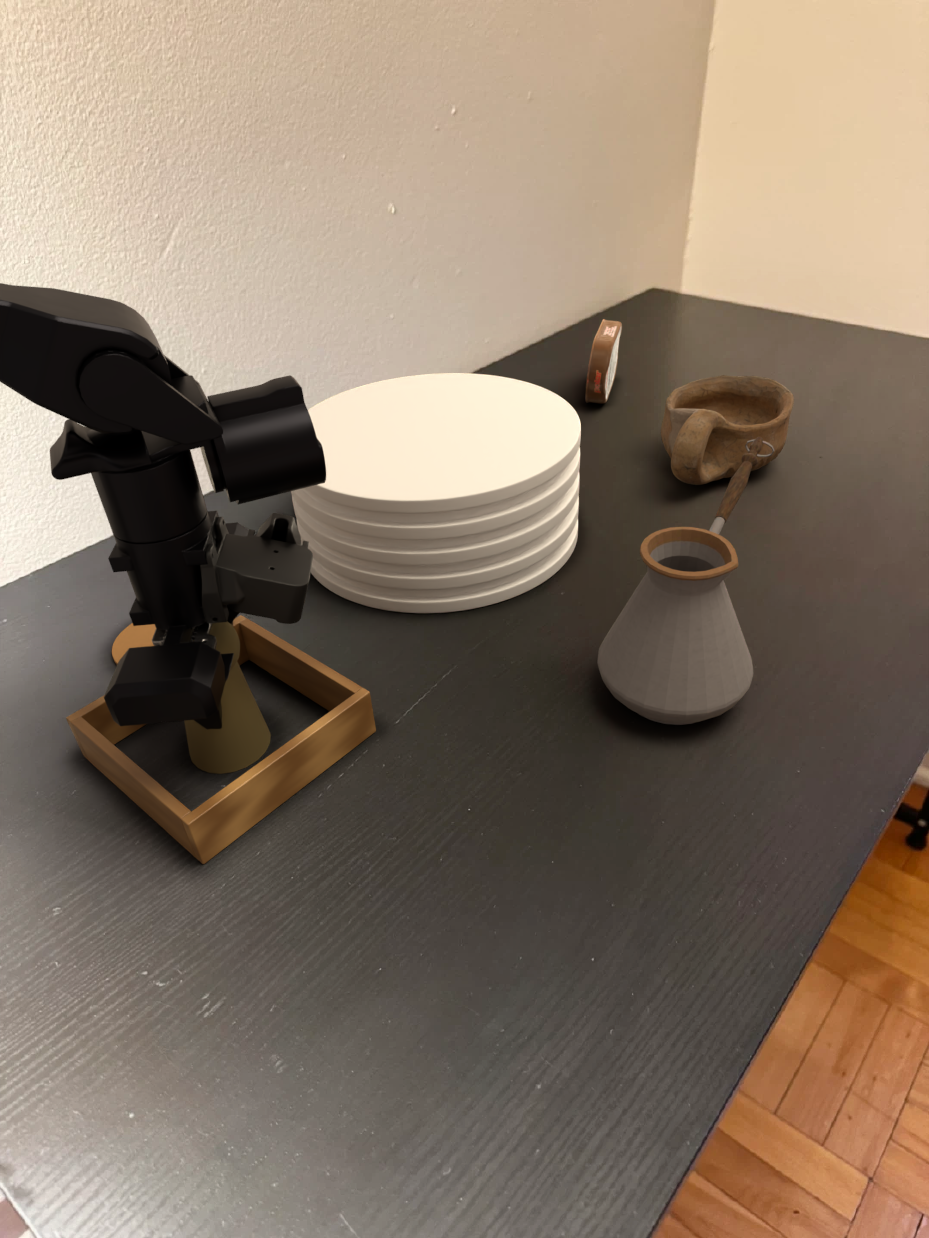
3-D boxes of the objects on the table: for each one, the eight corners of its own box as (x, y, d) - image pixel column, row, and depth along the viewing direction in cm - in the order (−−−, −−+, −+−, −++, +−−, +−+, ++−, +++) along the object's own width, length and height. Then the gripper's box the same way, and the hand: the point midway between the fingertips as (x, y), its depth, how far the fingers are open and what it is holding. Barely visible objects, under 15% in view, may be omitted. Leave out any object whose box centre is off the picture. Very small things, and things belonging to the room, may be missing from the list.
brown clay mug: (791, 507, 84) (777, 413, 79) (652, 522, 90) (631, 436, 85) (804, 431, 96) (794, 347, 91) (682, 449, 103) (666, 371, 98)
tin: (599, 370, 119) (601, 310, 114) (621, 371, 119) (625, 310, 114) (582, 413, 108) (584, 348, 103) (607, 414, 107) (610, 349, 102)
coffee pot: (717, 765, 59) (748, 589, 50) (570, 709, 64) (574, 541, 55) (802, 607, 73) (839, 447, 64) (676, 572, 78) (693, 420, 69)
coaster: (149, 690, 69) (147, 686, 69) (93, 648, 74) (92, 644, 74) (238, 636, 74) (237, 632, 74) (181, 600, 79) (180, 596, 79)
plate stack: (384, 653, 71) (367, 536, 64) (261, 520, 90) (238, 420, 83) (636, 545, 82) (645, 436, 75) (479, 447, 102) (474, 353, 95)
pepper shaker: (261, 772, 61) (228, 654, 54) (179, 774, 61) (136, 657, 55) (277, 714, 66) (248, 600, 59) (201, 717, 66) (164, 603, 59)
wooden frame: (203, 865, 55) (187, 824, 52) (83, 756, 63) (65, 717, 61) (376, 731, 64) (370, 691, 61) (250, 651, 72) (240, 614, 70)
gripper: (273, 595, 44) (322, 794, 54) (304, 443, 59) (338, 619, 69) (61, 614, 44) (147, 810, 54) (146, 456, 59) (202, 631, 68)
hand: (220, 706), depth 61 cm, fingers closed on pepper shaker, 4 cm apart
